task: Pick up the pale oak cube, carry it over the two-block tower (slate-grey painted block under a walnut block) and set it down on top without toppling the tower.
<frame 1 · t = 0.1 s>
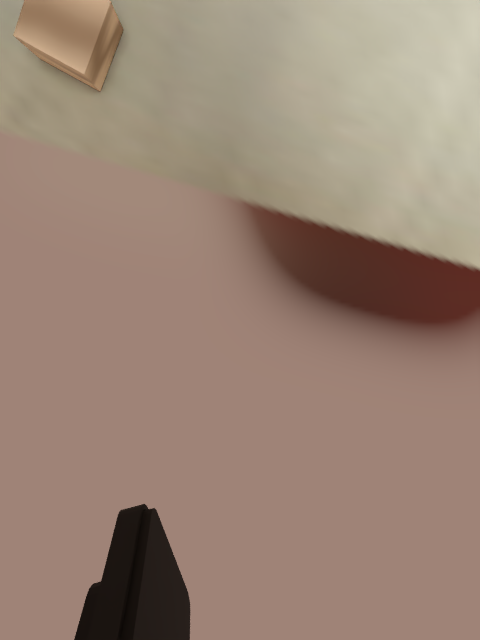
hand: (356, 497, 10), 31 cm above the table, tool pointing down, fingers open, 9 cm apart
oak cube: (81, 44, 33), on the table
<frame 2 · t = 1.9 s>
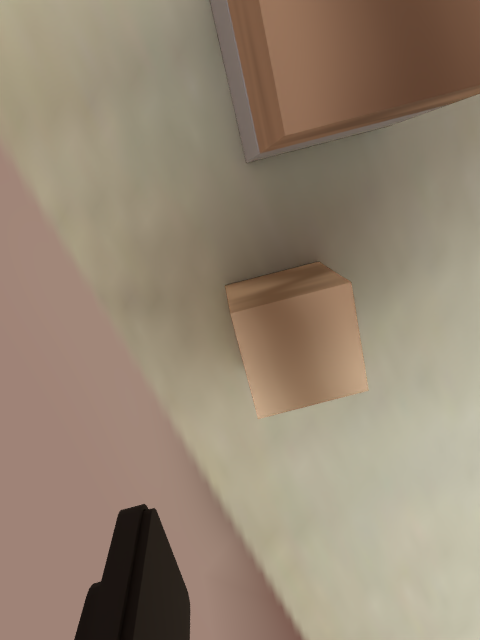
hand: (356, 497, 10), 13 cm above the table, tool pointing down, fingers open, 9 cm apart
base block: (303, 62, 18), on the table
top block: (338, 16, 13), point 5 cm above the table
oak cube: (281, 318, 22), on the table
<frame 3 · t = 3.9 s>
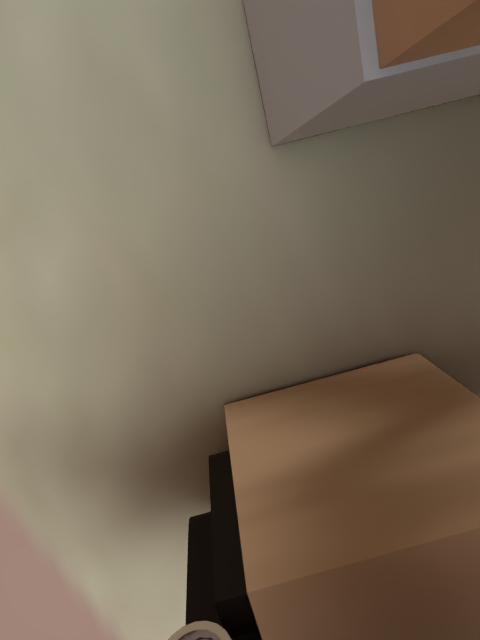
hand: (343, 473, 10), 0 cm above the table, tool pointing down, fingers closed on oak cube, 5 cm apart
oak cube: (337, 461, 11), on the table, touching gripper
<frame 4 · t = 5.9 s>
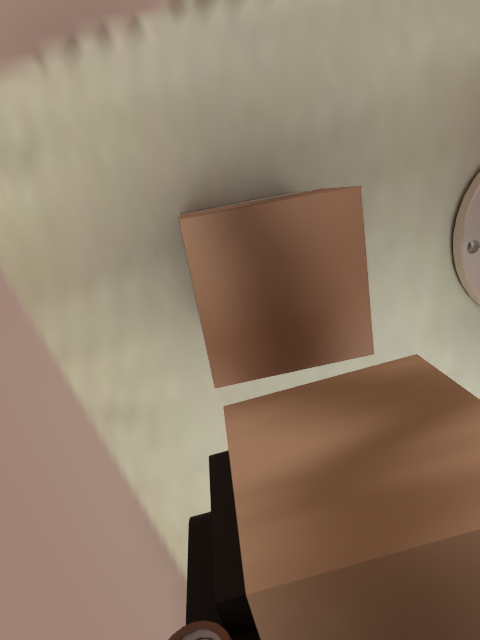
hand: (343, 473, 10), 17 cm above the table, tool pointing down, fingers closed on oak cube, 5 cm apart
top block: (262, 271, 21), point 5 cm above the table, touching base block
oak cube: (337, 462, 11), point 16 cm above the table, touching gripper
when the fingers open (11 cm above the table, at t = 8.0 s): oak cube stays where it is, resting on top block.
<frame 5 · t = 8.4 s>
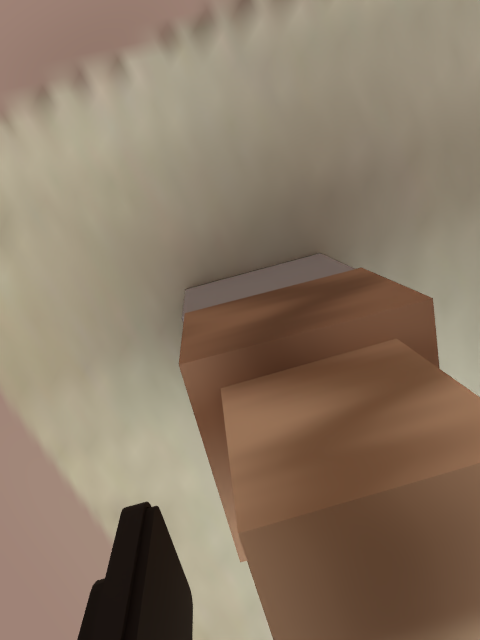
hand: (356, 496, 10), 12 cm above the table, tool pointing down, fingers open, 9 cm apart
base block: (268, 334, 21), on the table, touching top block
top block: (291, 371, 17), point 5 cm above the table, touching base block, oak cube
oak cube: (326, 439, 12), point 10 cm above the table, touching top block
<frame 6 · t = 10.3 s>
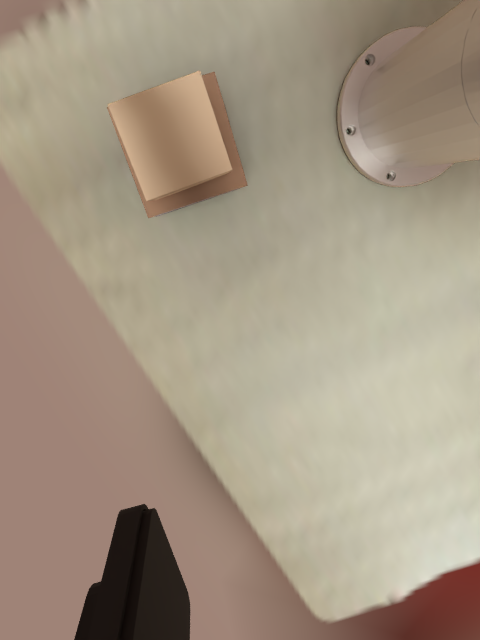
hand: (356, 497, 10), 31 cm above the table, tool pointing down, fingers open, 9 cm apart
top block: (183, 155, 31), point 5 cm above the table, touching base block
oak cube: (177, 148, 26), point 10 cm above the table
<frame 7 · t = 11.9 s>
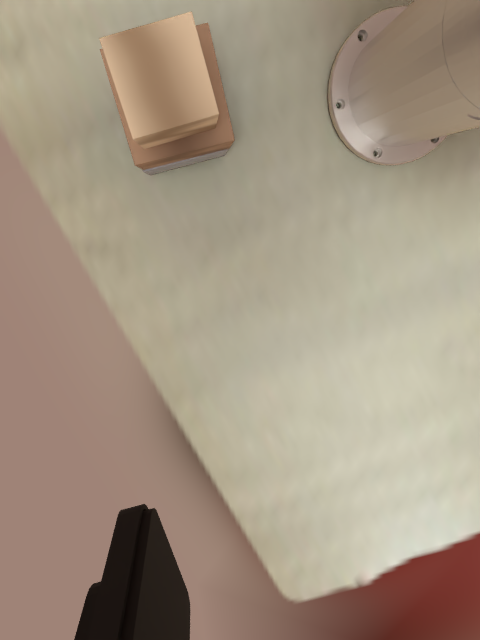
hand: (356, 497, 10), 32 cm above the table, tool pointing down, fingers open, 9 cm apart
base block: (176, 124, 36), on the table, touching top block
top block: (174, 111, 31), point 5 cm above the table, touching base block, oak cube
oak cube: (167, 98, 27), point 10 cm above the table, touching top block
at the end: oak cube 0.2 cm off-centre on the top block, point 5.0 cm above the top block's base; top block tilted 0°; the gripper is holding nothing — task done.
